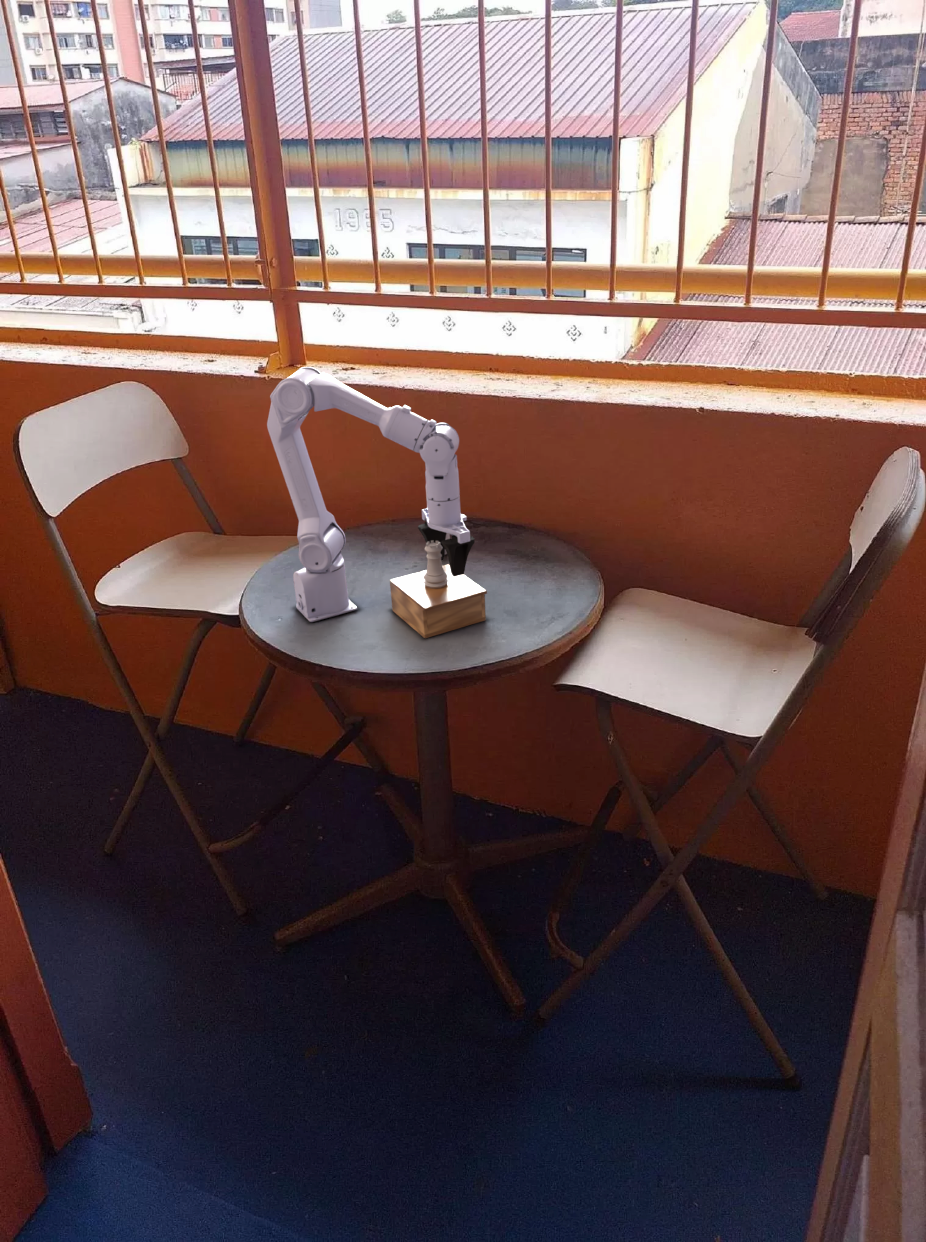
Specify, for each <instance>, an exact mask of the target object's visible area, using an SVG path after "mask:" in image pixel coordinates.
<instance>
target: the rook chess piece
mask: <svg viewBox="0 0 926 1242" xmlns="http://www.w3.org/2000/svg"><path fill="white" fill-rule="evenodd" d="M442 548H443V547H442V546H441V545H440V542H439V541H436V543H434V540H433V541H431V543H430V542H429V541H428V542H427V543H426V542H425V547H424V551H425V552H426V553H427V554H426V556H425V557H426V559H427V564H426V565H427V566H426V569H425V570H426V573H425V575H424V584H425V586H427V587H428V588H433V589H437V588H442V587H444V586H446V584H447V583H448V579H447V574H446V573H445V571H444V569H443V567H442V566H443V564H442V563H443V562H442V561H441V557H442V554H441V553H440V552H441V550H442Z"/></svg>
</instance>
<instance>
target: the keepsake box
mask: <svg viewBox="0 0 926 1242" xmlns="http://www.w3.org/2000/svg"><path fill="white" fill-rule="evenodd" d="M389 589H390V598H391V610H392V612H393V613H395V615H397V616H398V617H399V618H400V619H402V620H403V621H404V622H405V623H406V624H407V625H409V626H410V627H411V628H412V630H415V631H416V632H417V634H419V635H420V636H421V637H422V638H424V639H428V638H432V637H435V636H438V635H442V634H445V633H448V632H452V631H454V630H458V629H462V628H465V627H468V626H471V625H474V624H478V623H481V622H485V621H486V620H487V619H486V597H485V595H486V594H484V595H480V596H477V597H473V598H470V599H466V600H463V601H459V602H456V603H453V604H449V605H446V606H442V607H439V608H435V609H432V610H428V611H424V610H423V609H421V608H420V607H419V606H418V605H417V604H415V603H414V602H413V601H412V600H410V599H409V598H408V597H407V596H406V595H404V594H403V593H402V592H401V591H399V590H398V589H397V588H396V587H395V586H393V585H392V584H391V583H390V582H389Z"/></svg>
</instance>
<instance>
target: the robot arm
mask: <svg viewBox="0 0 926 1242" xmlns="http://www.w3.org/2000/svg"><path fill="white" fill-rule="evenodd" d="M269 399H270V407H269V412H268V418H267V421H266V427H267V431H268V434H269V437H270V440H271V443H272V446H273V450H274V452H275V455H276V457H277V460H278V463H279V467H280V469H281V472H282V476H283V478H284V481H285V485H286V488H287V490H288V493H289V496H290V499H291V503H292V505H293V508H294V511H295V514H296V517H297V519H298V524H297V525H298V526H297V535H296V538H297V542H298V544H299V548H298V560H299V561H300V564H301V565H302V566H303V567H302V568H301V569H299V570H296V571H294V572H293V576H292V581H293V587H294V594H295V601H296V605H295V607H296V609H297V611H299V613H301V614H302V616H304V618H306V620H308V622H310V623H314V622H318V621H321V620H324V619H328V618H332V617H336V616H339V615H343V614H346V613H350V612H354V611H356V610H358V607H357V605H356V604H354V602H352V601H351V600H350V598H349V591H348V582H347V581H348V580H347V574H346V567H345V566H346V565H345V564H346V563H345V559H344V557H343V555H342V551H343V549H344V548H345V547H346V542H347V537H346V535H345V533H344V532H345V531H343V529H342V528H341V527H340V526H339V525H338V523H337V521H336V518H335V516H334V515H333V514H332V513H331V512H330V511H328V510H327V507H326V504H325V501H324V498H323V494H322V492H321V489H320V486H319V482H318V479H317V477H316V473H315V470H314V468H313V464H312V461H311V459H310V455H309V452H308V448H307V446H306V442H305V439H304V436H303V434H302V430H301V426H302V424H303V423H304V421H305V420H306V418H307V416H308V414H309V412H310V410H312V409H313V412H320V411H325V410H330V409H337V410H340V411H342V412H344V413H346V414H349V415H352V416H354V417H356V418H359V419H361V420H363V421H365V422H368V423H369V424H373V425H375V426H377V427H378V428H379V430H380V432H381V434H382V437H384V438H386V439H387V440H390V441H392V442H393V443H394V442H395V444H398V445H400V446H402V447H404V448H407V449H409V450H411V451H412V452H414V453H418V454H419V455H420V458H421V459H422V461H423V462H424V465H425V472H424V475H425V491H426V490H427V499H426V505H427V504H428V508H427V507H426V508H423V509H421V520H423V521H424V523H421V524H418V526H417V529H418V530H419V532H420V533H421V535H422V537H423V539H424V541H425V544H426V543H427V542H428V541H429V542H430V543H431V541H433V540H434V543H436V541H439V542H440V545H441V546H442V547H443V548H442V550H441V552H440V553H441V554H442V557H441V562H442V561H444V560H445V556H446V555H447V559H448V564H449V565H450V570H451V573H452V576H454V577H455V576H459V575H462V574H464V575H465V572H466V566H467V561H468V557H469V554H470V552H471V549H472V547H473V546H474V544H475V542H476V541H475V537H473V536H472V535H471V531H470V530H469V529H468V528H467V526H466V524H465V521H467V520H468V519H467V518H468V517H467V515H465V514H463V513H462V512H461V511H462V510H461V496H460V495H461V492H460V491H461V490H460V475H459V468H458V455H457V454H456V452H457V451H458V449H459V446H460V436H459V434H458V432H457V430H456V429H455V428H454V427H453V426H451V425H450V424H449V423H447V422H438V423H437V421H436V420H434V419H430V420H429V419H426V418H424V417H423V416H421V415H419V414H417V413H415V412H412V407H410V406H408V405H406V404H404V405H403V406H400V405H394V406H392V407H391V406H390V407H386V406H385V405H383V404H380V403H379V402H377V401H375V400H373V399H371V398H370V397H368V396H366V395H364V394H363V393H361V392H359V391H357V390H355V389H354V388H352V387H350V386H348V385H346V384H345V383H343V382H341V381H339V380H338V379H336V378H335V377H333V375H331V374H329V373H326V372H321V371H320V370H319V369H317V368H315V367H312V366H303V367H300V368H298V369H297V370H296V371H295V372H293V374H291V375H290V376H288V377H287V378H283V379H282V380H281V381H279V382H278V384H277V385H276V386H275V388H274V389H273V391H272V392H271V394H270V395H269ZM447 533H449V534H450V536H451V538H450V539H447V540H445V539H446V534H447ZM445 550H446V553H447V554H446V555H445Z"/></svg>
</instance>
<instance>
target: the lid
mask: <svg viewBox="0 0 926 1242" xmlns="http://www.w3.org/2000/svg"><path fill="white" fill-rule="evenodd" d="M442 567H443V569H444V571H445V573H446V574H447V579H448V583H447V584H446V586H444V587H442V588H437V589H433V588H428V587H427V586H425V584H424V575H425V573H426V570H427V569H425V570H421V571H417V572H413V573H410V574H405V575H403V576H399V577H395V578H391V579H389V584H390V583H391V584H392V585H393V586H395V587H396V588H397V589H398V590H399V591H401V592H402V593H403V594H404V595H406V596H407V597H408V598H409V599H410V600H412V601H413V602H414V603H415V604H417V605H418V606H419V607H420V608H421V609H423V610H424V611H428V610H432V609H435V608H439V607H442V606H446V605H449V604H453V603H456V602H459V601H463V600H466V599H470V598H473V597H477V596H480V595H484V594H485V595H487V594H488V590H487V589H485V588H484V587H482V586H481V585H479V584H478V583H477V582H475V581H473V579H471V578H469V577H468V576H467V575H466V574H465V573H464V574H462V575H459V576H455V577H454V576H452V573H451V570H450V565H449V563H447V564H442Z"/></svg>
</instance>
